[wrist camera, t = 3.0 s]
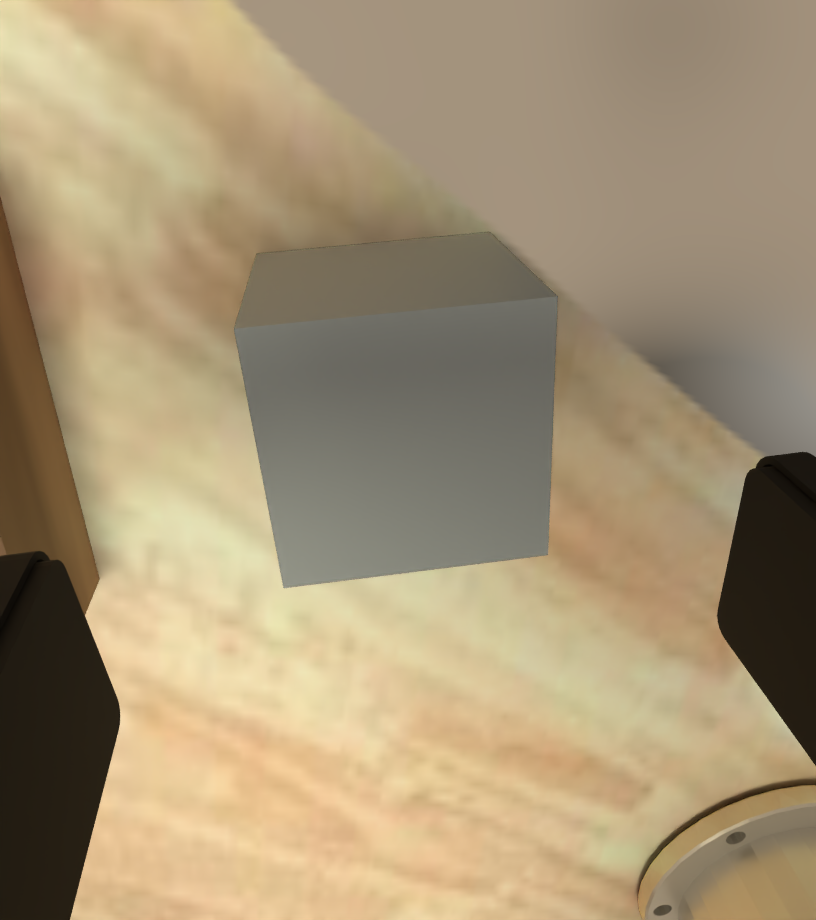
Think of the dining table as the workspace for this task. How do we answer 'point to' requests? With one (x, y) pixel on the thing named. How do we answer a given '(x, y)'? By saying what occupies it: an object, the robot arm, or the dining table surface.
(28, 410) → the base block
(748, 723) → the dining table surface
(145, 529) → the dining table surface
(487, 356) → the grey cube
